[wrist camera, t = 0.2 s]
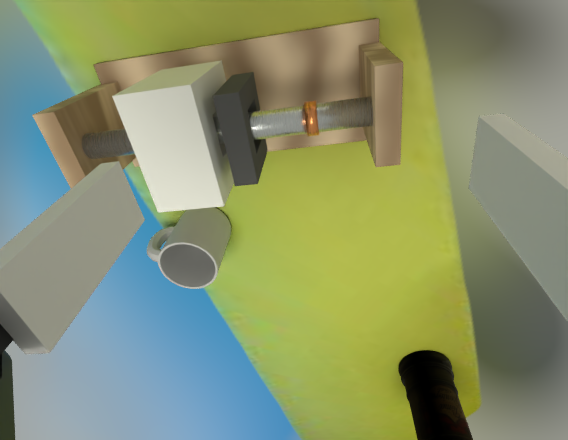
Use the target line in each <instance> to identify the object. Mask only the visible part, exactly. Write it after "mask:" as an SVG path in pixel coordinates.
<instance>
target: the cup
mask: <svg viewBox="0 0 568 440" xmlns="http://www.w3.org/2000/svg"><path fill="white" fill-rule="evenodd" d="M230 235H231V225H230V222H229V220H228V218H227V217H226V215H225V214H224V213H223V212H222V211H220V210H219V209H217V208H215V207H211V208H200V209H189V210H186V211H185V212H184V213H183V215H182V216H181V218H180V219H179V221H178V223H177V224H176V226H173V227H167V228H164V229H162V230H160V231H159V232H157V233H156V234H155V235H154V236H153V237H152V238H151V240H150V241H149V244H148V247H147V254H148V256H149V257H150V258H151V259H152V260H153V261H156V262H158V266H159V268H160V270H161V272H162V273H163V275H164V276H165V277H166V278H167V279H168V280H170V281H171V282H173V283H175V284H176V285H178V286H181V287H184V288H191V289H196V288H202V287H206V286H208V285H209V284H211V283H212V282H213V281H214V280H215V278H216V276H217V273H218V270H219V268H220V265H221V262H222V259H223V256H224V253H225V250H226V247H227V244H228V241H229V238H230ZM165 241H166V243H165V245H164V247H163V248H162V250H161V249H160V247H161V246H162V244H163V243H164V242H165Z"/></svg>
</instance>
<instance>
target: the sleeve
mask: <svg viewBox="0 0 568 440" xmlns="http://www.w3.org/2000/svg"><path fill="white" fill-rule="evenodd" d="M225 82H226V78H225V73H224V69H223V64H222V60H221V61H214V62H208V63H201V64H195V65H188V66H182V67H175V68H169V69H162V70H160V71H158V72H156V73H154V74H152V75H151V76H149V77H147V78H145V79H143V80H141V81H139V82H137V83H136V84H134V85H132V86H130V87H128V88H126V89H124V90H123V91H121V92H119V93H117V94H115V95H113V96H112V97H113V100H114V102H115V105H116V107H117V110H118V112H119V115H120V117H121V120H122V122H123V125H124V127H125V130H126V132H127V135H128V138H129V140H130V143H131V145H132V148H133V150H134V153H135V155H136V158H137V160H138V163H139V165H140V168H141V170H142V173H143V175H144V178H145V180H146V183H147V186H148V188H149V191H150V193H151V196H152V198H153V201H154V203H155V206H156V208H157V211H158V212H168V211H179V210H189V209H200V208H211V207H221V206H224V205H225V203H226V200H227V198H228V196H229V193H230V191H231V188H232V186H233V184H234V180H233V176H232V172H231V168H230V164H229V160H228V156H227V152H226V148H225V144H220V143H219V139H218V136H217V132H216V128H215V124H214V120H213V117H216V116H217V112H216V108H215V104H214V100H213V95H214V94H215V93H216V92H217V91H218V89H219V88H220V87H221V86H222V85H223V84H224V83H225Z"/></svg>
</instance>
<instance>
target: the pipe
mask: <svg viewBox="0 0 568 440" xmlns="http://www.w3.org/2000/svg"><path fill="white" fill-rule="evenodd" d="M248 114H249V119H250V124H251V129H252V134H253V139H254V140H258V139H266V138H274V137H283V136H291V135H300V134H307V136H316V135H319V132H325V131H333V130H341V129H350V128H358V127H367V126H372V125H373V106H372V99H371V96H369V97H361V98H354V99H346V100H339V101H331V102H323V103H317V102H316V100H315V101H307V102H304V105H300V106H293V107H285V108H277V109H270V110H262V111H255V112H248ZM213 120H214V124H215V128H216V132H217V136H218V139H219V143H220V144H224V140H223V136H222V132H221V128H220V124H219V120H218V116H216V117H213ZM82 148H83V151H84V153H85V154H86V156H87V157H89V158H90V159H99V158H107V157H115V156H124V155H132V154H135V153H134V150H133V148H132V145H131V143H130V140H129V138H128V135H127V132H126V130H125V129H117V130H109V131H102V132H94V133H87V134H85V135H84V136H83V137H82Z"/></svg>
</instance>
